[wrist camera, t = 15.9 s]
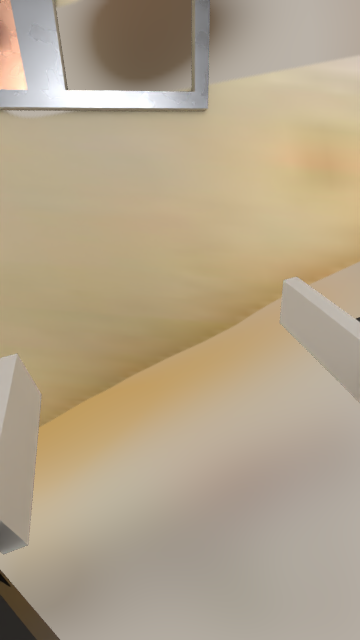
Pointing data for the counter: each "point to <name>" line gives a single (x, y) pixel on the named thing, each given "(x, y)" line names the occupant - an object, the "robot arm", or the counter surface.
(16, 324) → the counter surface
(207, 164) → the counter surface
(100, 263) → the counter surface
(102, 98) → the metal frame
